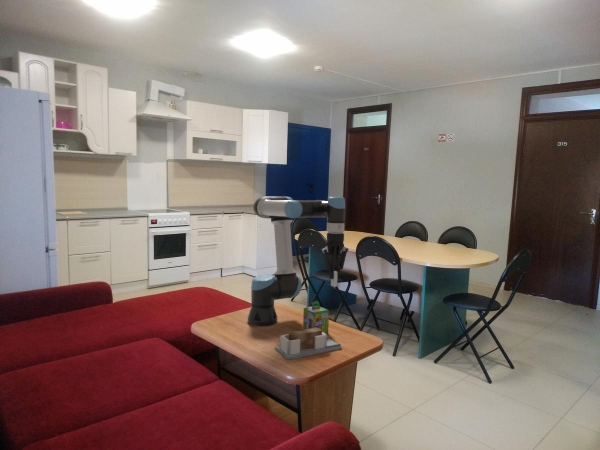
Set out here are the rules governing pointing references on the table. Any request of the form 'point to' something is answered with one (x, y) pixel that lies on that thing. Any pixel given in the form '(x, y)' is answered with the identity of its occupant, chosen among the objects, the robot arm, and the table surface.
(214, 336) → the table surface
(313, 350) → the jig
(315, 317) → the chalk box
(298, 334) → the slat
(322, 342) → the end cap
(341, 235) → the robot arm
